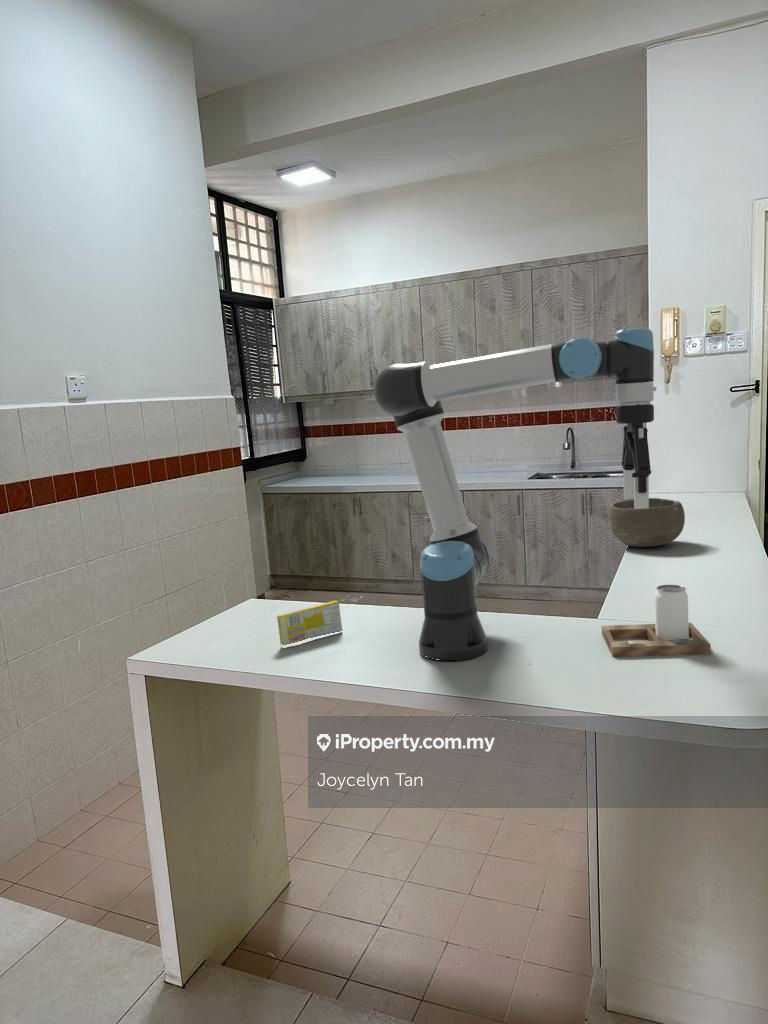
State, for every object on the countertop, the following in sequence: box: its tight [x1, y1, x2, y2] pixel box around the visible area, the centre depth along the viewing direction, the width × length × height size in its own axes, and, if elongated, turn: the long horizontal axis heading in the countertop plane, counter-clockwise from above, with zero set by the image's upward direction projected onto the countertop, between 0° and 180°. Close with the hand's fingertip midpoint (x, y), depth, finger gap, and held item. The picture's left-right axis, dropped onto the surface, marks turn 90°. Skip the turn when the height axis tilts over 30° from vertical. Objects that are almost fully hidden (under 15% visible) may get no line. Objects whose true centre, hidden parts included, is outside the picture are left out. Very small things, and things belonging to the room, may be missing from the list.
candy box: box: [276, 600, 343, 645], centre depth 171 cm, size 16×2×8 cm, turn 123°
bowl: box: [608, 497, 686, 548], centre depth 242 cm, size 24×24×15 cm
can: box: [654, 584, 690, 641], centre depth 148 cm, size 6×6×12 cm
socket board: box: [601, 622, 712, 658], centre depth 149 cm, size 19×14×2 cm
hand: (635, 503), depth 151 cm, fingers open, 13 cm apart
